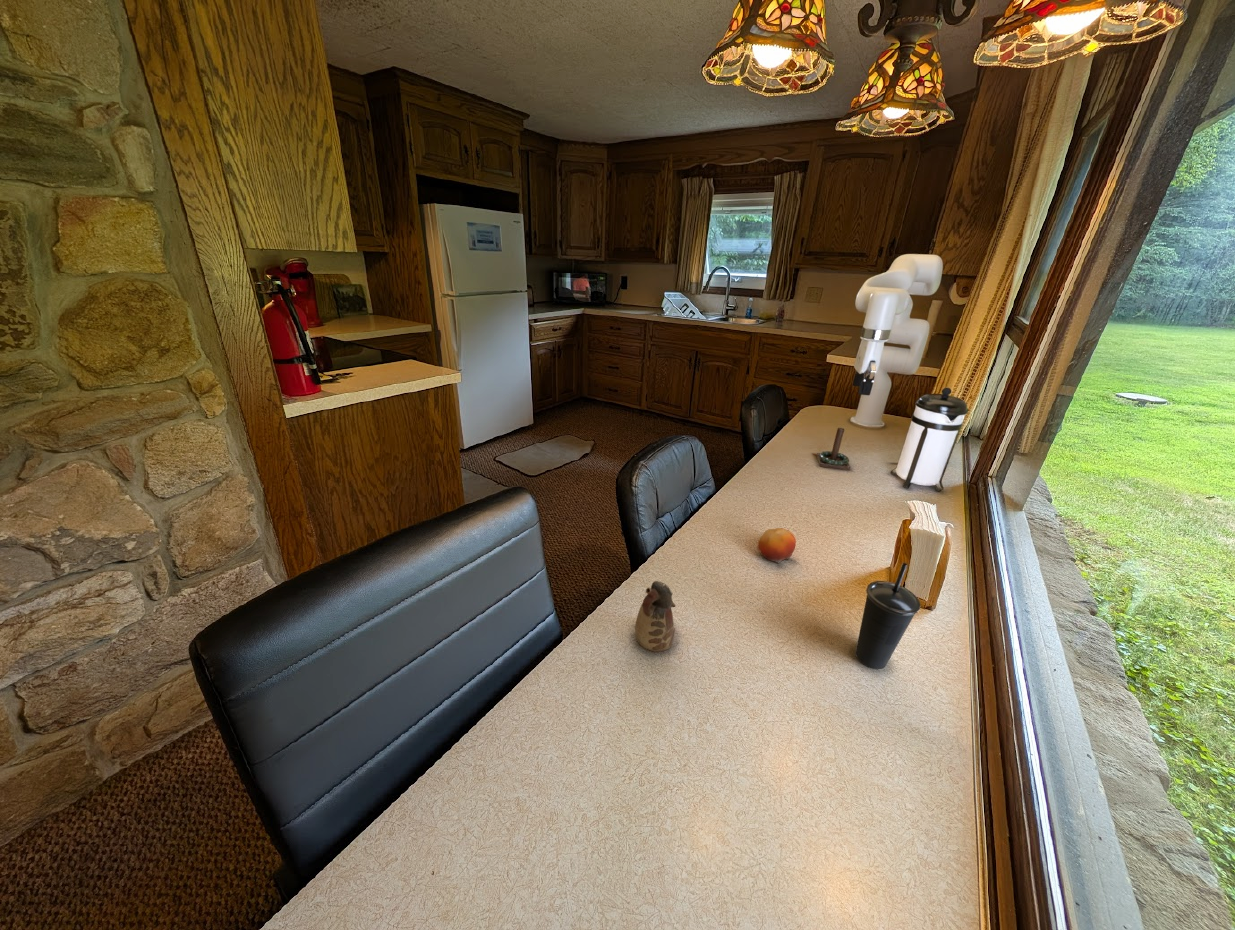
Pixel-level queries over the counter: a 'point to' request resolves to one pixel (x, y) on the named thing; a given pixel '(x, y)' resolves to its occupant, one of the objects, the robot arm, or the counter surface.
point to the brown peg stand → (835, 452)
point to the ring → (833, 462)
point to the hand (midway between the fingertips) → (860, 390)
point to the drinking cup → (885, 620)
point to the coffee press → (931, 439)
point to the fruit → (777, 544)
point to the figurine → (656, 618)
